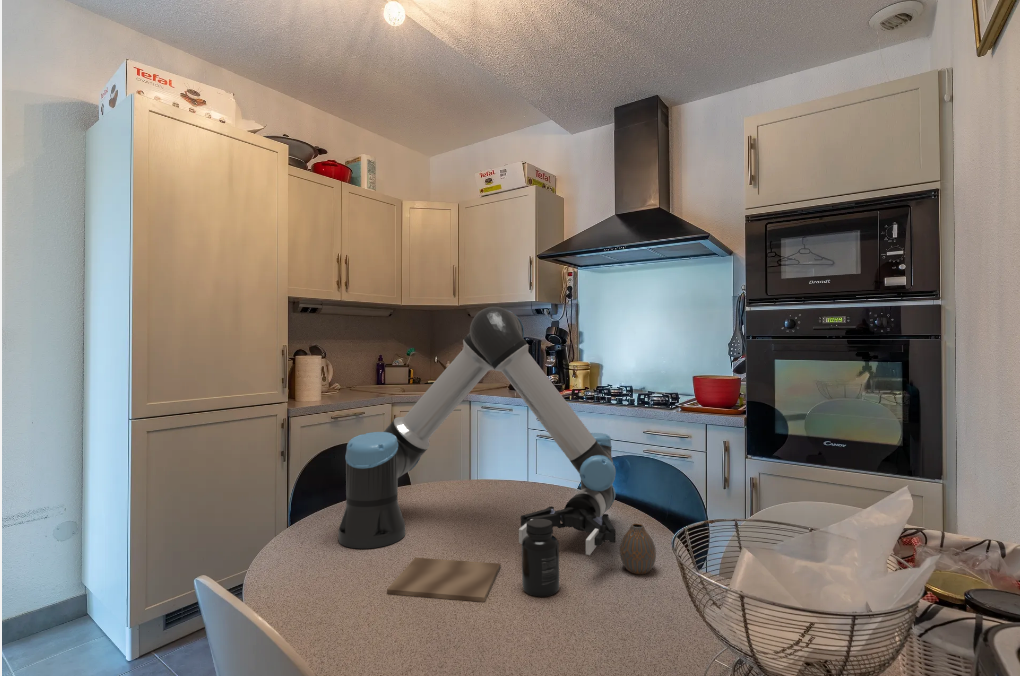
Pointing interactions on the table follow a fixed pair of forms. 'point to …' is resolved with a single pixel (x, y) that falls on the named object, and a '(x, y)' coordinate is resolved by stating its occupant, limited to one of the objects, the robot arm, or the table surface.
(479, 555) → the table surface
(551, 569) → the supplement bottle
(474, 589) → the board
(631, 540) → the vase
